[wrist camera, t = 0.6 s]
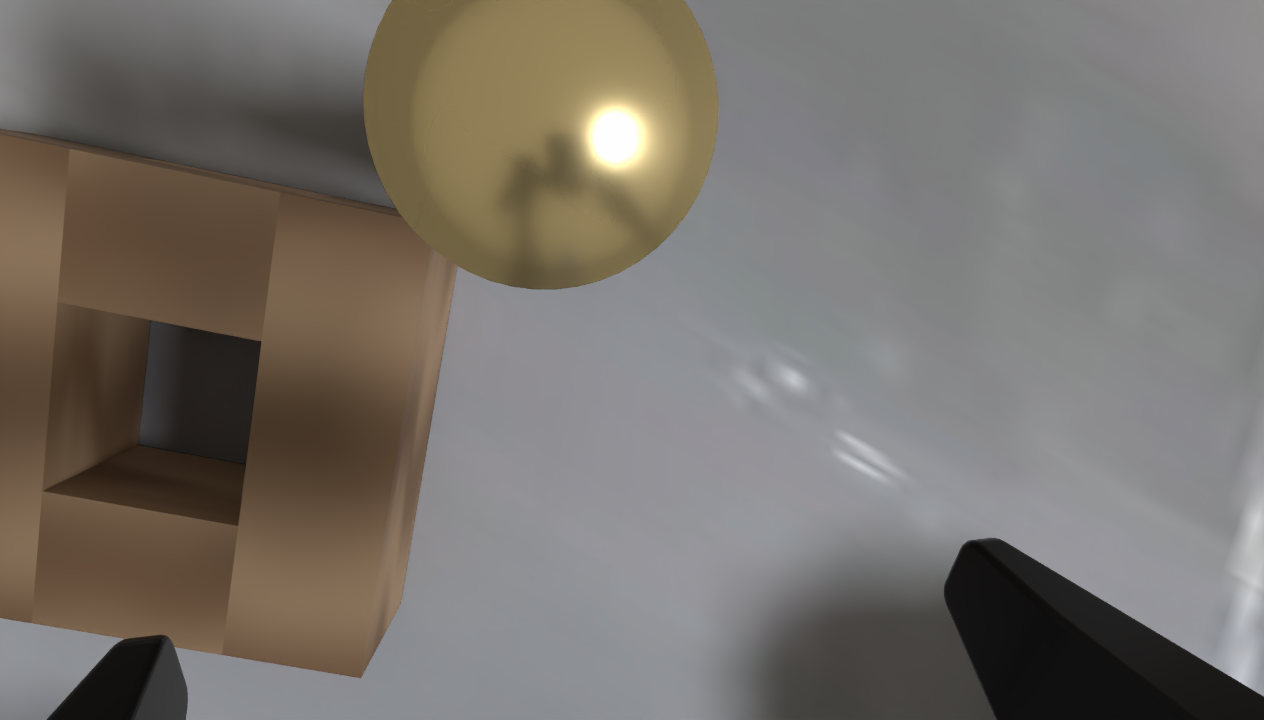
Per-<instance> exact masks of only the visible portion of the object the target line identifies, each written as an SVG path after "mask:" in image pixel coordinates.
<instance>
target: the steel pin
mask: <svg viewBox="0 0 1264 720" xmlns="http://www.w3.org/2000/svg"><path fill="white" fill-rule="evenodd" d="M363 106H364V123H365V129H366V135H367V140H368V146H369V149H370V152H371V156H372V159H373V162H374V165H375V168H376V171H377V173H378V175H379V178H380V180H381V182H382V184H383V186H384V189H385V191H386V193H387V194H388V196H389V197H390V199H391V201H392V202H393V204H394V206H395V207H396V209H397V210H398V212H399V213H400V214H401V216H402V217H403V218H404V219H405V221H406V222H407V223H408V224H409V226H410V227H411V228H412V229H413V231H414V232H416V233H417V234H418V235H419V236H420V237H421V238H422V239H423V240H424V241H425V242H426V243H427V244H428V245H429V246H430V247H431V248H433V249H434V250H435V251H437V252H438V253H439V254H441V255H442V256H443V257H445V258H446V259H447V260H449V261H450V262H452V263H454V264H456V265H457V266H459V267H461V268H463V269H464V270H466V271H468V272H470V273H473V274H475V275H477V276H480V277H482V278H485V279H487V280H490V281H493V282H497V283H501V284H505V285H508V286H513V287H520V288H528V289H562V288H570V287H578V286H582V285H585V284H589V283H593V282H597V281H600V280H603V279H605V278H607V277H610V276H612V275H615V274H617V273H620V272H621V271H623V270H625V269H627V268H628V267H630V266H632V265H634V264H635V263H637V262H639V261H640V260H642V259H643V258H644V257H645V256H647V255H648V254H649V253H651V252H652V251H653V250H655V249H656V248H657V247H658V246H659V245H660V244H661V243H662V242H663V241H664V240H665V239H666V238H667V237H668V236H669V235H670V234H671V233H672V232H673V231H674V230H675V229H676V227H677V226H678V225H679V223H680V222H681V221H682V220H683V218H684V217H685V216H686V214H687V213H688V211H689V210H690V208H691V206H692V204H693V203H694V201H695V199H696V198H697V196H698V194H699V192H700V190H701V187H702V185H703V183H704V180H705V178H706V176H707V173H708V170H709V166H710V163H711V159H712V156H713V152H714V148H715V141H716V135H717V128H718V94H717V84H716V77H715V72H714V68H713V64H712V59H711V55H710V52H709V49H708V47H707V44H706V41H705V39H704V36H703V33H702V31H701V29H700V27H699V25H698V23H697V21H696V19H695V17H694V15H693V13H692V12H691V10H690V8H689V7H688V5H687V4H686V3H685V1H684V0H392V2H391V3H390V5H389V6H388V8H387V10H386V12H385V14H384V16H383V18H382V20H381V22H380V24H379V26H378V28H377V31H376V34H375V37H374V40H373V43H372V46H371V48H370V52H369V57H368V62H367V67H366V71H365V80H364V93H363Z"/></svg>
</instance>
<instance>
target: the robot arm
mask: <svg viewBox="0 0 1264 720" xmlns="http://www.w3.org/2000/svg"><path fill="white" fill-rule="evenodd" d="M944 597H945V602H946V605H947V607H948V610H949V612H950V614H951V617H952V619H953V621H954V623H955V626H956V628H957V630H958V633H959V635H960V637H961V640H962V642H963V644H964V647H965V649H966V651H967V654H968V656H969V658H970V660H971V663H972V665H973V667H974V670H975V672H976V674H977V677H978V679H979V681H980V684H981V686H982V688H983V691H984V693H985V695H986V697H987V700H988V702H989V704H990V706H991V708H992V710H993V713H994V715H995V717H996V719H997V720H1264V697H1263V696H1262V695H1260V694H1258V693H1257V692H1255V691H1253V690H1252V689H1250V688H1248V687H1247V686H1245V685H1243V684H1242V683H1240V682H1238V681H1237V680H1235V679H1233V678H1232V677H1230V676H1228V675H1227V674H1225V673H1223V672H1222V671H1220V670H1218V669H1217V668H1215V667H1213V666H1212V665H1210V664H1208V663H1207V662H1205V661H1203V660H1202V659H1200V658H1198V657H1197V656H1195V655H1193V654H1192V653H1190V652H1188V651H1187V650H1185V649H1183V648H1182V647H1180V646H1178V645H1177V644H1175V643H1173V642H1171V641H1170V640H1168V639H1166V638H1165V637H1163V636H1161V635H1160V634H1158V633H1156V632H1155V631H1153V630H1151V629H1150V628H1148V627H1146V626H1145V625H1143V624H1141V623H1140V622H1138V621H1136V620H1135V619H1133V618H1131V617H1130V616H1128V615H1126V614H1125V613H1123V612H1121V611H1120V610H1118V609H1116V608H1115V607H1113V606H1111V605H1110V604H1108V603H1106V602H1105V601H1103V600H1101V599H1100V598H1098V597H1096V596H1095V595H1093V594H1091V593H1090V592H1088V591H1086V590H1085V589H1083V588H1081V587H1080V586H1078V585H1076V584H1075V583H1073V582H1071V581H1070V580H1068V579H1066V578H1065V577H1063V576H1061V575H1060V574H1058V573H1056V572H1055V571H1053V570H1051V569H1050V568H1048V567H1046V566H1044V565H1043V564H1041V563H1039V562H1038V561H1036V560H1034V559H1033V558H1031V557H1029V556H1028V555H1026V554H1024V553H1023V552H1021V551H1019V550H1018V549H1016V548H1014V547H1013V546H1011V545H1009V544H1008V543H1006V542H1004V541H1002V540H1000V539H997V538H986V539H977V540H970V541H967V542H966V543H965V544H963V546H962V547H961V549H960V551H959V553H958V555H957V558H956V560H955V562H954V564H953V566H952V568H951V571H950V573H949V575H948V577H947V579H946V582H945V585H944ZM187 704H188V693H187V686H186V682H185V679H184V676H183V673H182V670H181V667H180V663H179V660H178V657H177V654H176V651H175V648H174V645H173V643H172V641H171V639H170V638H169V637H168V636H166V635H153V636H144V637H136V638H128V639H124V640H122V641H120V642H119V643H117V644H116V645H114V646H113V647H112V648H111V649H110V650H109V652H108V653H107V654H106V655H105V656H104V657H103V658H102V659H101V660H100V661H99V663H98V664H97V665H96V666H95V667H94V668H93V669H92V670H91V671H90V672H89V674H88V675H87V676H86V677H85V678H84V679H83V680H82V681H81V682H80V683H79V684H78V686H77V687H76V688H75V689H74V690H73V691H72V692H71V693H70V694H69V695H68V697H67V698H66V699H65V700H64V701H63V702H62V703H61V704H60V705H59V706H58V708H57V709H56V710H55V711H54V712H53V713H52V714H51V715H50V716H49V717H48V718H47V720H186V714H187Z"/></svg>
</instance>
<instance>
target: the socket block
mask: <svg viewBox="0 0 1264 720" xmlns="http://www.w3.org/2000/svg"><path fill="white" fill-rule="evenodd" d="M456 270H457V265H456V264H454V263H452V262H450V261H449V260H447V259H446V258H445V257H443V256H442V255H441V254H439V253H438V252H437V251H435V250H434V249H433V248H431V247H430V246H429V245H428V244H427V243H426V242H425V241H424V240H423V239H422V238H421V237H420V236H419V235H418V234H417V233H416V232H414V231H413V229H412V228H411V227H410V226H409V224H408V223H407V222H406V221H405V219H404V218H403V217H402V216H401V214H400V213H399V212H398V210H397V209H393V208H388V207H384V206H379V205H374V204H369V203H364V202H360V201H355V200H350V199H345V198H340V197H335V196H331V195H326V194H321V193H316V192H311V191H306V190H302V189H297V188H292V187H287V186H282V185H277V184H273V183H268V182H263V181H258V180H253V179H249V178H244V177H239V176H234V175H229V174H224V173H220V172H215V171H210V170H205V169H200V168H195V167H191V166H186V165H181V164H176V163H171V162H166V161H162V160H157V159H152V158H147V157H142V156H138V155H133V154H128V153H123V152H118V151H113V150H109V149H104V148H99V147H94V146H89V145H84V144H80V143H75V142H70V141H65V140H60V139H55V138H51V137H46V136H41V135H36V134H30V133H23V132H17V131H10V130H3V129H0V618H4V619H10V620H16V621H22V622H28V623H34V624H40V625H46V626H52V627H58V628H64V629H70V630H76V631H82V632H88V633H94V634H100V635H106V636H112V637H118V638H124V639H128V638H136V637H144V636H153V635H166V636H168V637H169V638H170V639H171V641H172V643H173V645H174V647H178V648H184V649H190V650H196V651H202V652H208V653H214V654H220V655H226V656H232V657H238V658H244V659H250V660H256V661H262V662H268V663H274V664H280V665H286V666H292V667H298V668H304V669H310V670H316V671H322V672H328V673H334V674H340V675H346V676H352V677H358V678H361V677H362V675H363V673H364V671H365V669H366V667H367V666H368V664H369V662H370V660H371V658H372V656H373V654H374V653H375V651H376V649H377V647H378V645H379V643H380V641H381V640H382V638H383V636H384V634H385V632H386V630H387V628H388V627H389V625H390V623H391V621H392V619H393V617H394V615H395V614H396V612H397V610H398V608H399V606H400V604H401V599H402V593H403V587H404V581H405V575H406V569H407V563H408V557H409V551H410V545H411V539H412V533H413V527H414V521H415V515H416V509H417V503H418V497H419V492H420V486H421V480H422V474H423V468H424V462H425V456H426V450H427V444H428V438H429V432H430V426H431V420H432V414H433V408H434V402H435V396H436V390H437V384H438V378H439V372H440V366H441V360H442V354H443V348H444V342H445V336H446V330H447V324H448V318H449V312H450V306H451V300H452V294H453V288H454V282H455V276H456ZM151 320H153V321H158V322H163V323H169V324H174V325H179V326H184V327H189V328H194V329H199V330H205V331H210V332H215V333H220V334H225V335H230V336H236V337H241V338H246V339H251V340H256V341H261V350H260V358H259V366H258V374H257V382H256V390H255V398H254V406H253V414H252V422H251V429H250V437H249V445H248V453H247V461H246V465H244V464H239V463H233V462H228V461H222V460H217V459H211V458H206V457H200V456H195V455H189V454H184V453H178V452H173V451H168V450H162V449H157V448H151V447H146V446H140V445H138V442H139V432H140V422H141V412H142V402H143V392H144V382H145V372H146V362H147V353H148V343H149V333H150V323H151Z"/></svg>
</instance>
